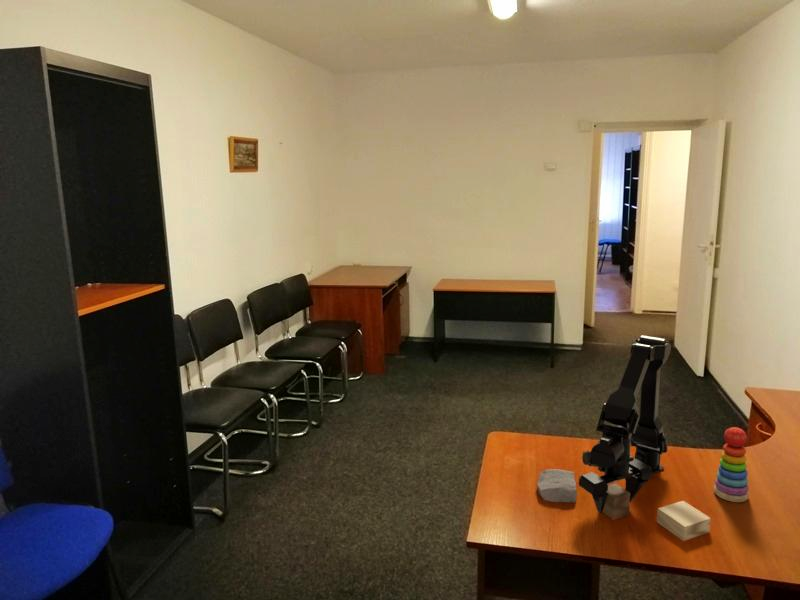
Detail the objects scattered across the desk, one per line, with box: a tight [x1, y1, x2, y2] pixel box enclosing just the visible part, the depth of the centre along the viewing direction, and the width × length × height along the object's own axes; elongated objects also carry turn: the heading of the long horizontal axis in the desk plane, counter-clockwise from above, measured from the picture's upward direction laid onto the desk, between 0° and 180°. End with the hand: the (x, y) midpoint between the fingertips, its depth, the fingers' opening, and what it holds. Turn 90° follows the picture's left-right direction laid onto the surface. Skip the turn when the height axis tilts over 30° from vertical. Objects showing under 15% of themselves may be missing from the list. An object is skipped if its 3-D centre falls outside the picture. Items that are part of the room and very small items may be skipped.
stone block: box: [536, 468, 578, 504], centre depth 156 cm, size 12×5×10 cm
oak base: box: [656, 500, 712, 542], centre depth 139 cm, size 8×8×4 cm
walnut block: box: [602, 482, 631, 521], centre depth 145 cm, size 5×5×6 cm
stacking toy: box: [713, 426, 750, 503], centre depth 149 cm, size 8×8×19 cm
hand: (613, 507), depth 146 cm, fingers open, 9 cm apart
